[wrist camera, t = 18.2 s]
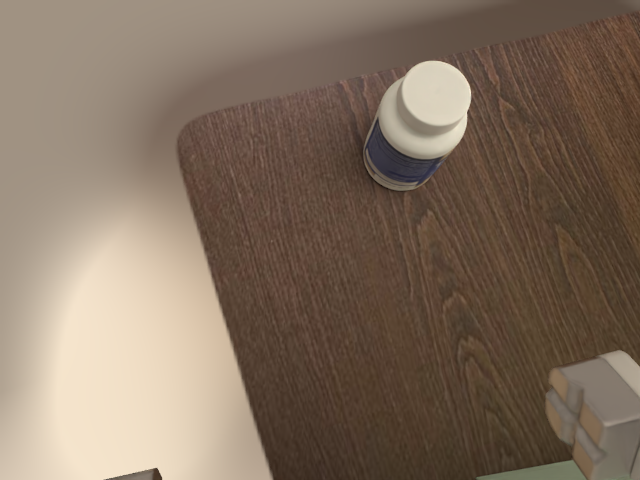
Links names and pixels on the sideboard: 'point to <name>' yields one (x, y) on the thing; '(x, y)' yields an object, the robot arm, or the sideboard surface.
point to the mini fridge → (544, 473)
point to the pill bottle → (417, 125)
